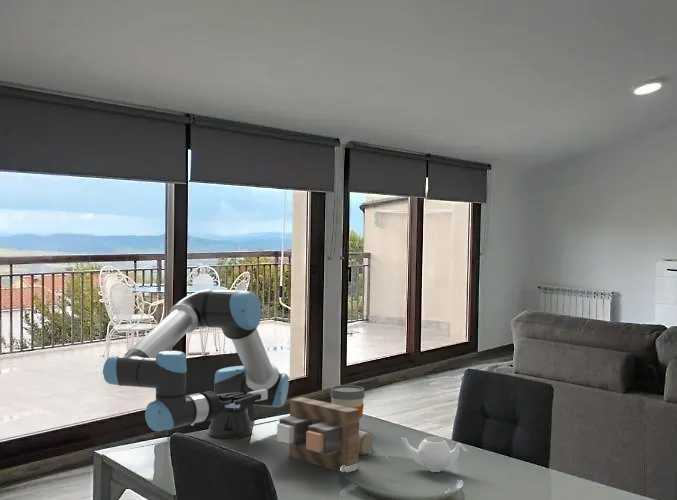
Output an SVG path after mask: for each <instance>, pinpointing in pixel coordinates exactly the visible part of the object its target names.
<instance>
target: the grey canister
mask: <svg viewBox="0 0 677 500" xmlns="http://www.w3.org/2000/svg"><path fill="white" fill-rule="evenodd" d="M373 442H374V441H373V437H372V435H371V434H370V433H368V432H367V431H365V430H364V431H363V430H360V429H359V455H360V456H365V455H367V454H369V453H370V452H371V451H372V450H373V449H374V444H373Z"/></svg>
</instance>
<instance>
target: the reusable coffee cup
mask: <svg viewBox="0 0 677 500" xmlns="http://www.w3.org/2000/svg"><path fill="white" fill-rule="evenodd" d="M329 397H330V398H331V404H336V405H341V406H345V407H350V408H355V409H359V428H360V425H361V419H362V417H363V413H364V405H365V404H364V398H365V388H364V387H363V386H358V385H351V384H349V385H348V384H347V385H346V384H343V385H340V384H339V385H334V386H332V387H331V388H330V394H329Z"/></svg>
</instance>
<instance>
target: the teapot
mask: <svg viewBox="0 0 677 500" xmlns="http://www.w3.org/2000/svg"><path fill="white" fill-rule="evenodd" d="M400 440H401V442H402V444H403V446H404V448H405V450H406V451H407V453H408V455H409V456H410V457H411V459H412V460H413V461H415V463H417V464H418V465H421V466H425V468H426V467H428V468H433V469H436V468H442V469H445V468H448V467H449V466H451V465H452V464H453V463H455V461H456V460H457V458H458V456H459V454H460V448H461V449H462V451H463V452H469V451H468V449H467V448H466V447H465V446H464V444H462V443H460V442H459V443H457V444H456V445H455V446H454V448H453V449H452V450H451V448H450V445H449V444H448V442H447V441H446V440H445V439H444V438H442V437H439V436H428V437H425V438H424V439H423V440H422V441H421V442H420V444H419V446H417V447H418V448H415V447H413V446H411V444H410V443H409V441H408V438H407V437H405V436H402V437H400Z"/></svg>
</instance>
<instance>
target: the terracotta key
mask: <svg viewBox="0 0 677 500" xmlns="http://www.w3.org/2000/svg"><path fill="white" fill-rule="evenodd" d="M306 449H309V450H312V451H316V452H321V451H324V432H320V431H316V430H310V431H307V432H306Z"/></svg>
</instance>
